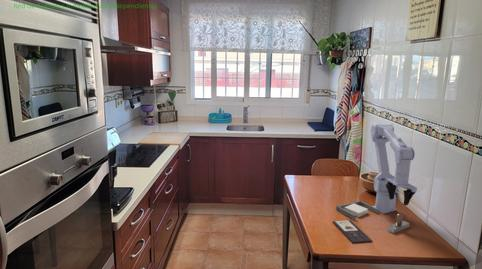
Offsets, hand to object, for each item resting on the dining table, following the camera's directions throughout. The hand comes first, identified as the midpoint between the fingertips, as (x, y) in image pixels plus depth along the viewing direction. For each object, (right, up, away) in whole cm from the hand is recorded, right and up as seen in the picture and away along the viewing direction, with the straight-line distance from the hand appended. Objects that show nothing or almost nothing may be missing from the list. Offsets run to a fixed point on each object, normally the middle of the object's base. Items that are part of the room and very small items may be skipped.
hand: (398, 201), depth 151 cm
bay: (-14, -8, +12) cm, 20 cm away
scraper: (-2, -12, -3) cm, 12 cm away
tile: (-15, -8, +12) cm, 21 cm away
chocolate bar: (-24, -12, -7) cm, 28 cm away
